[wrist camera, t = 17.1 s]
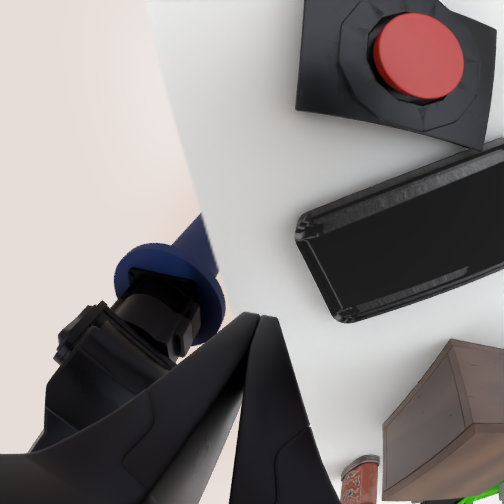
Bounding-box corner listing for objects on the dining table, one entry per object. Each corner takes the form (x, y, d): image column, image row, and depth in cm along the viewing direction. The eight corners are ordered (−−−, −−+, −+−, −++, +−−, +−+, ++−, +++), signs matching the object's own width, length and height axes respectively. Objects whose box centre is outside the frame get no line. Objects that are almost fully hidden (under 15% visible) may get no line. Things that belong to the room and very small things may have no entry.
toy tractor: (504, 465, 29) (511, 516, 21) (411, 491, 36) (409, 544, 27) (519, 436, 25) (531, 497, 17) (409, 468, 31) (408, 534, 23)
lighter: (359, 478, 34) (352, 541, 26) (336, 476, 35) (327, 540, 26) (385, 456, 30) (382, 530, 22) (360, 453, 31) (354, 529, 22)
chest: (538, 355, 19) (564, 420, 13) (467, 431, 26) (475, 489, 19) (450, 338, 21) (473, 422, 14) (382, 424, 27) (381, 492, 20)
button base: (297, 108, 16) (290, 113, 13) (307, -12, 12) (302, -33, 9) (470, 146, 14) (497, 161, 11) (484, 32, 11) (513, 25, 8)
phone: (287, 226, 18) (523, 136, 12) (289, 219, 19) (514, 133, 13) (338, 328, 21) (538, 254, 15) (338, 317, 22) (531, 246, 16)
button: (368, 87, 12) (374, 87, 10) (375, 12, 10) (381, 2, 9) (444, 106, 11) (459, 109, 10) (452, 33, 10) (466, 28, 8)
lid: (566, 420, 13) (569, 427, 12) (478, 489, 19) (479, 495, 19) (473, 423, 14) (475, 433, 13) (381, 493, 20) (381, 501, 20)
